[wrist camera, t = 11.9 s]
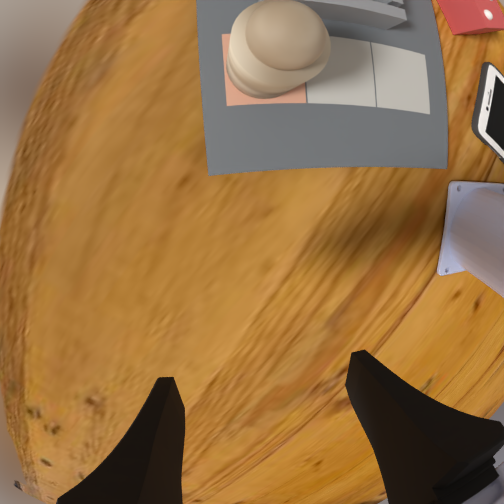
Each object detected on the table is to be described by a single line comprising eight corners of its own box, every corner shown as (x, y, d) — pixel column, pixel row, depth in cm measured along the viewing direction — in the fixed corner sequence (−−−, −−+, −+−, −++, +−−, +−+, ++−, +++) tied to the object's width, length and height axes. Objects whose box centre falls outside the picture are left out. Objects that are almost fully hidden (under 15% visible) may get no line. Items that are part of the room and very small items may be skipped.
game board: (411, -38, 11) (435, -52, 8) (438, 166, 18) (470, 175, 15) (195, -67, 10) (193, -95, 7) (209, 173, 17) (207, 182, 14)
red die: (459, -5, 12) (492, -15, 8) (478, 34, 14) (512, 28, 10) (432, -8, 12) (466, -22, 8) (453, 34, 14) (490, 26, 10)
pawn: (295, 35, 13) (344, -16, 7) (300, 98, 15) (357, 78, 8) (224, 36, 13) (230, -25, 6) (228, 101, 14) (237, 75, 8)
